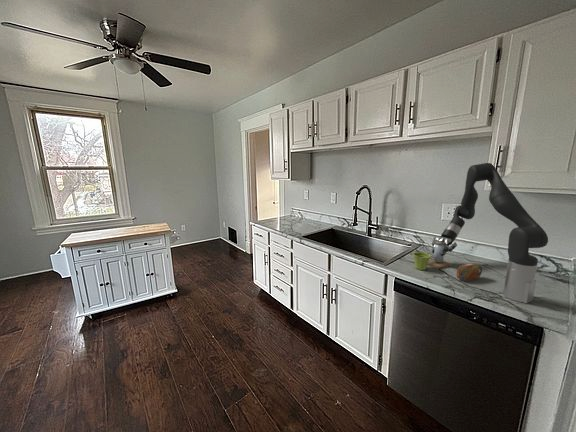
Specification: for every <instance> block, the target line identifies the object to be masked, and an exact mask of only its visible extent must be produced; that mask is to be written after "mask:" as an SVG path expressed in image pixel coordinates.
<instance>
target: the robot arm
mask: <svg viewBox="0 0 576 432" xmlns="http://www.w3.org/2000/svg"><path fill="white" fill-rule="evenodd" d="M493 165H494V164H492V163H489V162H483V163H479V164H473V165H470V166H469V168H468V170H467V172H466V177H465V179H466V180H465V187H464V194H463V196H462V199H461V202H460V204H459V205H457V206H456V207H455V209H454V212H453V213H454V214H453V217H452V218H451V220H450V222H449V223H448V224H447V226H446V227H445V229H444V230H443V232H442V233H441V235H440V237H435V236H434V237H433V239H432V241H431V246H432V248H431V253H432V254H434V248H435V241H443V242H445V247H444V250H443V251H442V252H441V256H444V257H445V255H446V254H447V252H450V253H451V252H453V250H455V249H456V247H458V244H457V242H456V241H455V240H456V239H457V237H458V235H459V234H460V232H461V230H463V229H462V228H463V227H464V225H465V223H466V222H465V220H471V219H473V218H474V217H475V213H476V203H477V201H478V200H479V199H478V198H479V193H478V191H477V189H476V188H475V184H476V182H483V181H487V180H488V181H487V182H489V184H490V186H491V188H490V191H489V195H488V201H489V203H490V204H491V206H492V207H493V209H494V210H495V211H496V213H498V214H499V215H501V216H503V217H504V218H506V219H507V220H509V221H511V222H512V223H513V224H515V225H516V226H517V227H515V228H513V229H512V230H510V233H509V236H508V244H507V245H508V246H507V254H508V260H507V268H506V274H505V280H504V281H505V282H504V286H503V287H504V288H503V294H502V295H503V296H504V297H505V298H507V299H510V300H512V301H515V302H520V303H524V304H528V303H531V302H533V300H534V295H535V291H536V284H537V280H535V278H536V274H537V269H538V262H539V259H538V258H537V257H536V256H534V255H532V254H529V252H530V250H529V249H539V248H544V247H546V246H547V245H548V243H549V238H548V234H547V233H546V231H545V230H544V229H543V227H541V225H540V224H539V223H538V222H536V220H534V218H533V217H532V216H531V215H530V214H529V213H528V212H527V210H526V209H525V208H524V206H522V204H521V203H520V201H519V200H518V198H517V197H516V195H514V194H513V192H512V191H511V190H510V189H509V187H508V186H507V185H506V183H505V182H504V180H503V179H502V176H501V175H500V174H499V171H498V170H497V168H496V166H495V165H494V166H493ZM464 219H465V220H464Z"/></svg>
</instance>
